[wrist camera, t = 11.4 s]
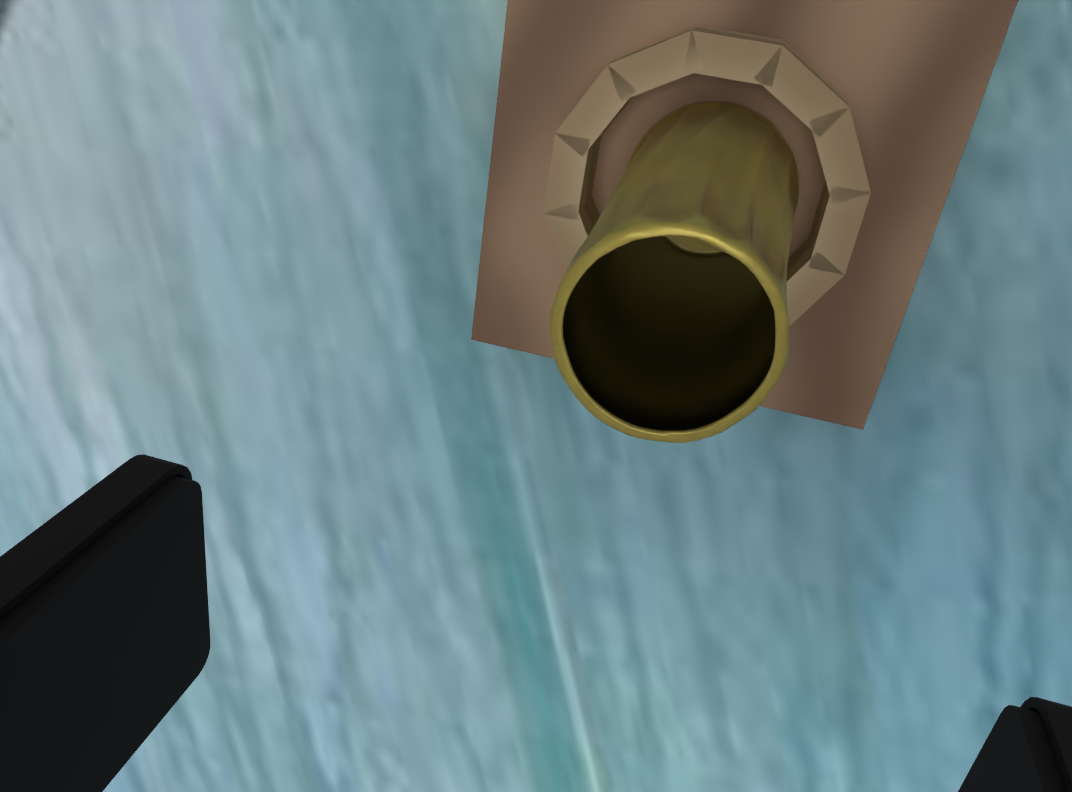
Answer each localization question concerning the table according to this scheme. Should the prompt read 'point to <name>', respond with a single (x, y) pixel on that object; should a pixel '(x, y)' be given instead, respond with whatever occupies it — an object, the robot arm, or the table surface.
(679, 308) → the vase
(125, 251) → the table surface
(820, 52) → the stand
